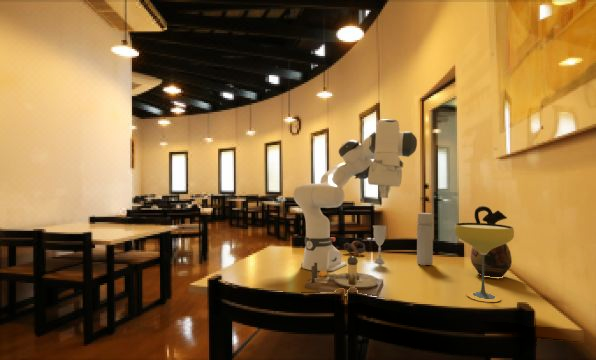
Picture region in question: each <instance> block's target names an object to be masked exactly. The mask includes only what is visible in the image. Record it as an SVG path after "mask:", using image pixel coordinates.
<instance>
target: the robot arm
mask: <svg viewBox="0 0 596 360" xmlns="http://www.w3.org/2000/svg"><path fill="white" fill-rule="evenodd" d="M399 123H400V122H399V121H398V120H396V119H387V118H386V119H384V118H382V119H379V120H378V121H377V125H376V131H374V132H373V133H371V134H370V135H369V136H368V137H366V138H365V139H364V140H363V141H362V143H360V141H359V140H355V139H351V140H346V141H345V142H343V143H341V145H340V147H339V149H338V155H340V157H341V158H342V159H343V161H344V162H339V163H338V164H336V165H334V166H332V167H331V168H330V169H328V170H327V171H326V172H325V173H324V174H323V175H322V176H321V178H320V183H303V184H299V185H297V186H296V187H295V188H294V191H293V194H292V195H293V200H294V202H295V203H296V204H297V205H298V206H299V208H300V209H301V211H302V213H303V216H304V219H305V237H304V245H305V246H304V252H303V261H302V262H301V265H302V266H301V267H302V268H303V269H306V270H307V271H308V270H309V271H312V266H314V263H317V272H320V271H321V270H325V271H326V272H334V271H336V270H338V269H340V268H342V267H346V266H347V263H346V262H345V261H343V260H342V254H341V252H340V250H338V248H336V247H335V246H334V245H333V242H336V237H335V236H334V237H332V236H331V237H330V233H331V229H330V228H331V223H330V222H331V221H330V220H329V217H327V216H326V215H324V214H323V212H322V210H321V208H323V209H324V208H325V209H330V208H338V207H340V206H341V205H343V203H344V200H345V191H344V189H343V188H344V186H345V185H346V184H347V183H348V182H349V180H350V179H351V178H352V177H354V179H359V180H366V179H367V182H368V185H370V186H371V185H372V186H373V185H374V186H378V190H379V193H380V194H379V195H380V199H388V198H389V193H390V191H391V187H398V188H399V187H400V186H401V184H402V179H403V178H402V177H403V169H402V168H403V167H404V162H403V161H402V160H401V159H400V157H407V158H408V157H409V158H410V156H412V155H413V154H414V153H415V152H416V149H417V147H418V138H417V136H416V135H415V134H414V133H413V132H412V131H400V124H399Z"/></svg>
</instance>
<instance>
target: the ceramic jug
mask: <svg viewBox="0 0 596 360" xmlns="http://www.w3.org/2000/svg"><path fill="white" fill-rule="evenodd" d="M482 212H487V214H486V215H484V217H483V218H482V222H486V223H487V224H497V223H498V222H500V221H503V220H506V219H508V217H507V216H505V214H503V213H502V211H499V210H496V211H495V212H493V211H492V209H491V208H490V207H488V206H484V205H481V206H480V205H479V206H478V207H477V208H476V209H475V211H474V214H473V215H474V219H475V223H481V220H480V216H479V213H482ZM471 247H472V248H471V250H470V261H471V264H472V267H474V269H475V270H476V271H477V274H478V273H479V274H481V275H482V255H481V254H480V253H479V252H478V250H477V249H476V248H475V247H473V246H471ZM512 261H513V260H512V254H511V250H510V248H509V246H508V243H506V244H504V245H501V246H498V247H496V248H493V249H491V250H490V251H489V252H488V253H487V254H486V255H484V276H490V277H502V276H503V277H504V275H506V273H507V272H508V271H509V270H510V268H511V267H512V263H513V262H512Z"/></svg>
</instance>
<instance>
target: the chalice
mask: <svg viewBox="0 0 596 360" xmlns="http://www.w3.org/2000/svg"><path fill="white" fill-rule="evenodd" d="M372 228H373V238H374V241H375V243H376V245H377V246H378V248H377V249H378V252H377V253H378V256H377V257H376V258H375V260H374V263H375V264H379V265H382V264H385V260H384V258H383V257H382V256H381V255H382V252H381V250H382V247H381V246H382V245H384V244H383V243H384V242H385V239H386V238H387V230H386V229H387V226H386V225H372Z"/></svg>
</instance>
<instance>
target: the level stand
mask: <svg viewBox="0 0 596 360" xmlns="http://www.w3.org/2000/svg"><path fill="white" fill-rule="evenodd" d="M338 274H339V273H333V274H332V275H338ZM310 275H311V278H310V279H308V280H306V281H305V282H304V283H305V285H304V288H305V289H307V290H309V289H310V290H317V291H318V293H319V292H334V291H335V290H336V289H338V288H344V289H345V294H346V293H347V290H348V289H349V288H346V287H342V286H339V285H337V284H335V282H334V278H332V277H326V278H325V279H322V278H320V276H319V277H318V271H317V263H314V266H312V270H311V274H310ZM376 278H377V277H376ZM377 279H378V285H377V286H376V287H373V288H368V289H357V290H358V293H362V294H367V295H372V296H378V297H379V295H380V292H381V290H382V288H383V286H382V285H384V278H377Z"/></svg>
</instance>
